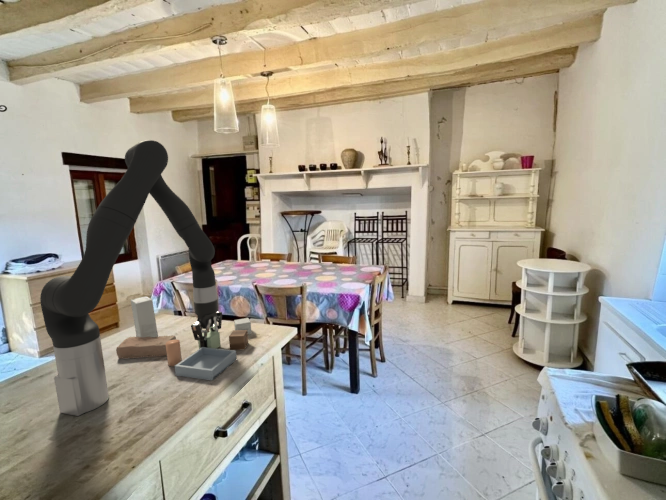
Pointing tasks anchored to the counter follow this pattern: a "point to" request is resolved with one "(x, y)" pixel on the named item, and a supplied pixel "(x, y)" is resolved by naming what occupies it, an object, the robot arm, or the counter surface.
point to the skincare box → (144, 317)
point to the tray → (205, 363)
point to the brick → (143, 347)
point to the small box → (243, 325)
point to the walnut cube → (238, 339)
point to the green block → (212, 339)
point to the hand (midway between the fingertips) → (209, 346)
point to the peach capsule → (173, 352)
